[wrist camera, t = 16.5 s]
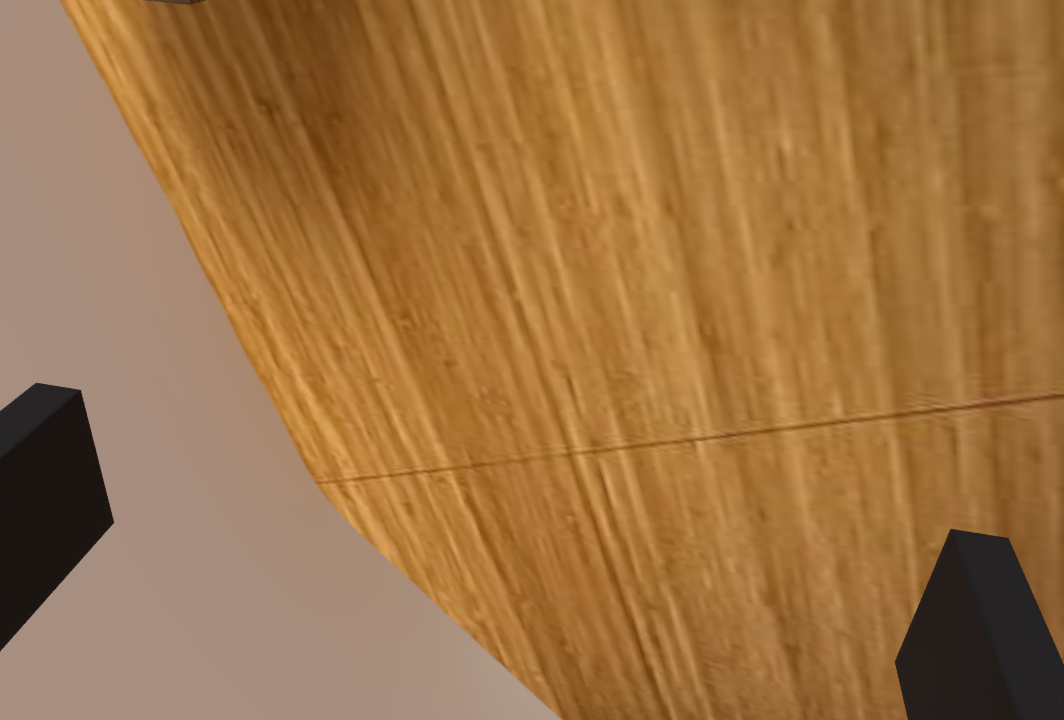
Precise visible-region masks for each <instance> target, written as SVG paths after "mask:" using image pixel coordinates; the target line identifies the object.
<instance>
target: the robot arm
mask: <svg viewBox="0 0 1064 720" xmlns="http://www.w3.org/2000/svg"><path fill="white" fill-rule="evenodd" d="M113 523H114V520H113V517H112V512H111V508H110V504H109V500H108V496H107V493H106V488H105V485H104V481H103V477H102V473H101V469H100V465H99V461H98V457H97V453H96V449H95V445H94V441H93V437H92V433H91V429H90V425H89V421H88V417H87V413H86V409H85V405H84V401H83V397H82V393H81V390H77V389H72V388H65V387H59V386H53V385H47V384H40V383H35V384H34V385H33V386H31V387H30V388H29V389H28V390H26V391H25V392H24V393H23V394H21V395H20V396H19V397H18V398H16V399H15V400H14V401H13V402H11V403H10V404H9V405H7V406H6V407H5V408H4V409H2V410H1V411H0V651H1V650H2V649H3V648H4V646H5V645H6V644H7V643H8V642H9V641H10V640H11V639H12V637H13V636H14V635H15V634H16V633H17V632H18V631H19V629H20V628H21V627H22V626H23V625H24V624H25V623H26V622H27V620H28V619H29V618H30V617H31V616H32V615H33V614H34V613H35V611H36V610H37V609H38V608H39V607H40V606H41V605H42V603H43V602H44V601H45V600H46V599H47V598H48V597H49V596H50V594H51V593H52V592H53V591H54V590H55V589H56V588H57V587H58V585H59V584H60V583H61V582H62V581H63V580H64V579H65V577H66V576H67V575H68V574H69V573H70V572H71V571H72V570H73V568H74V567H75V566H76V565H77V564H78V563H79V562H80V561H81V559H82V558H83V557H84V556H85V555H86V554H87V553H88V551H89V550H90V549H91V548H92V547H93V546H94V544H96V542H97V541H98V540H99V539H100V538H101V537H102V535H103V534H104V533H105V532H106V531H107V530H108V529H109V528H110V527H111V525H112V524H113ZM895 665H896V669H897V673H898V678H899V682H900V686H901V691H902V695H903V700H904V704H905V708H906V713H907V717H908V720H1064V664H1063V662H1062V659H1061V657H1060V655H1059V653H1058V650H1057V648H1056V646H1055V643H1054V641H1053V639H1052V637H1051V634H1050V632H1049V630H1048V627H1047V625H1046V623H1045V621H1044V618H1043V616H1042V614H1041V611H1040V609H1039V607H1038V605H1037V602H1036V600H1035V598H1034V595H1033V593H1032V591H1031V589H1030V586H1029V584H1028V582H1027V579H1026V577H1025V575H1024V573H1023V570H1022V568H1021V566H1020V563H1019V561H1018V559H1017V557H1016V554H1015V552H1014V550H1013V547H1012V545H1011V543H1010V541H1009V538H1004V537H998V536H992V535H986V534H979V533H973V532H967V531H961V530H954V529H950V532H949V534H948V537H947V539H946V541H945V544H944V546H943V548H942V551H941V553H940V556H939V558H938V560H937V563H936V565H935V567H934V570H933V572H932V575H931V577H930V579H929V582H928V584H927V587H926V589H925V591H924V594H923V596H922V598H921V601H920V603H919V606H918V608H917V610H916V613H915V615H914V617H913V620H912V622H911V625H910V627H909V629H908V632H907V634H906V637H905V639H904V641H903V644H902V646H901V648H900V651H899V653H898V656H897V658H896V660H895Z"/></svg>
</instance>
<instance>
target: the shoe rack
mask: <svg viewBox="0 0 1064 720" xmlns="http://www.w3.org/2000/svg"><path fill="white" fill-rule="evenodd" d="M147 1H157V2H167V3H177V4H187V5H192V4H195V3H199V2H202V1H205V0H147Z"/></svg>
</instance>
